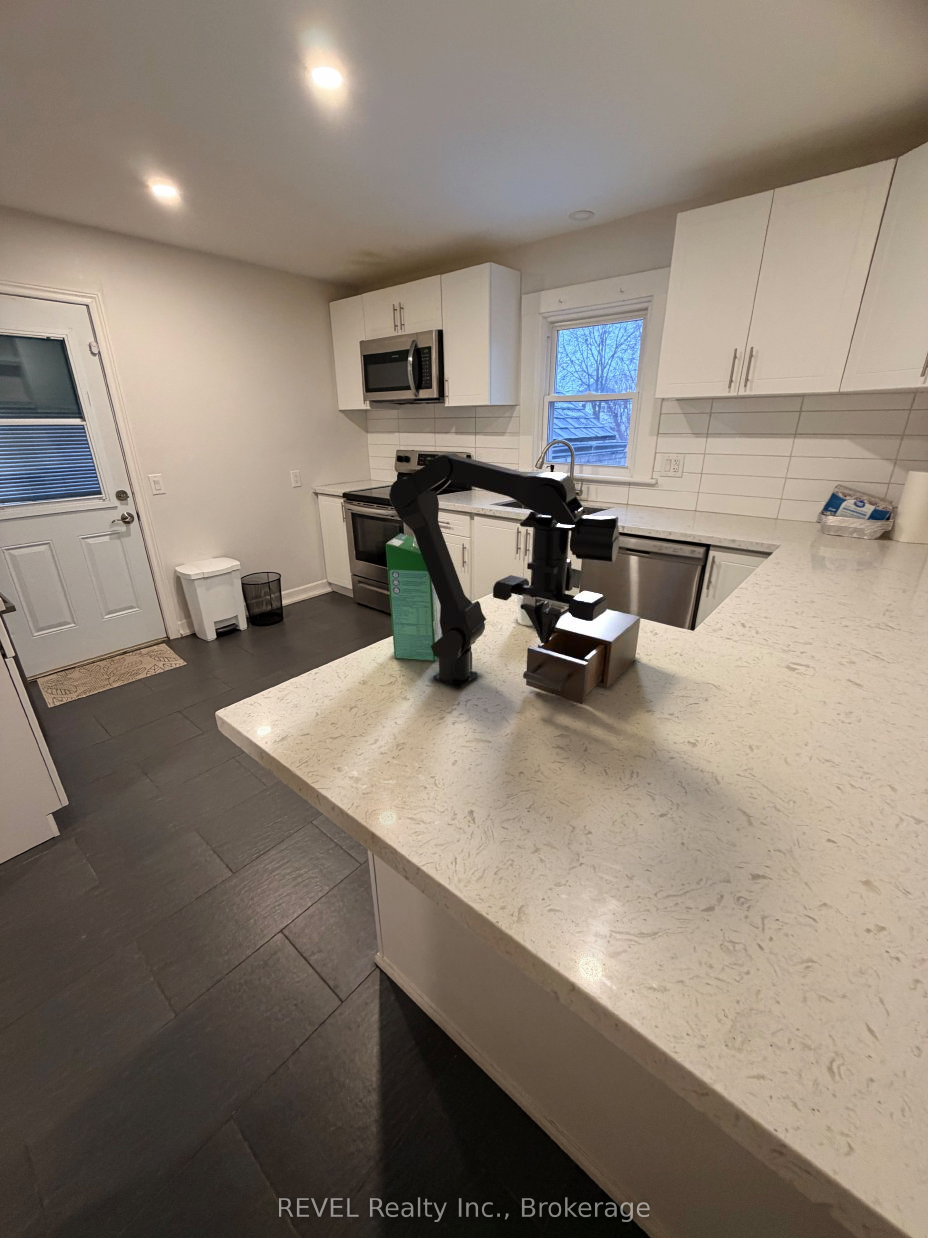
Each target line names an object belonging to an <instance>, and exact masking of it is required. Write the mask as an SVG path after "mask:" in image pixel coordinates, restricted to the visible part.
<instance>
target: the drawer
mask: <svg viewBox="0 0 928 1238" xmlns="http://www.w3.org/2000/svg"><path fill="white" fill-rule="evenodd" d="M606 654H607V644H604V643H600V642H596V641H592V640H588V639H585V638H581V637H577V636H573V635H570V634H566V633H562V632H558V631H557V632H556V633H554V634H553V635H551V638H550V640H549V642H548V643H547V644H543V643H541V642H539V643H538V644H537V646H534V645H529V646H528V647H527V649H526V670H525V671H524V672H523V674H522V679H524V680H525V685H526V686H527V687H530V688H533V689H536V690H539V691H541V692H545V693H547V694H549V695H553V696H556V697H559V698H562V699H565V700H567V701H571V702H573V703H575V704H579V705H584V704H585V703H586V697H587V695H588V694H589V693H590V692H591V691H592V690H593V689H594V688H595V687H596V686H598V685H597V684H598V683H599V682H600V681H601V680H602V679H603V678H604V673H605V663H606Z"/></svg>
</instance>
